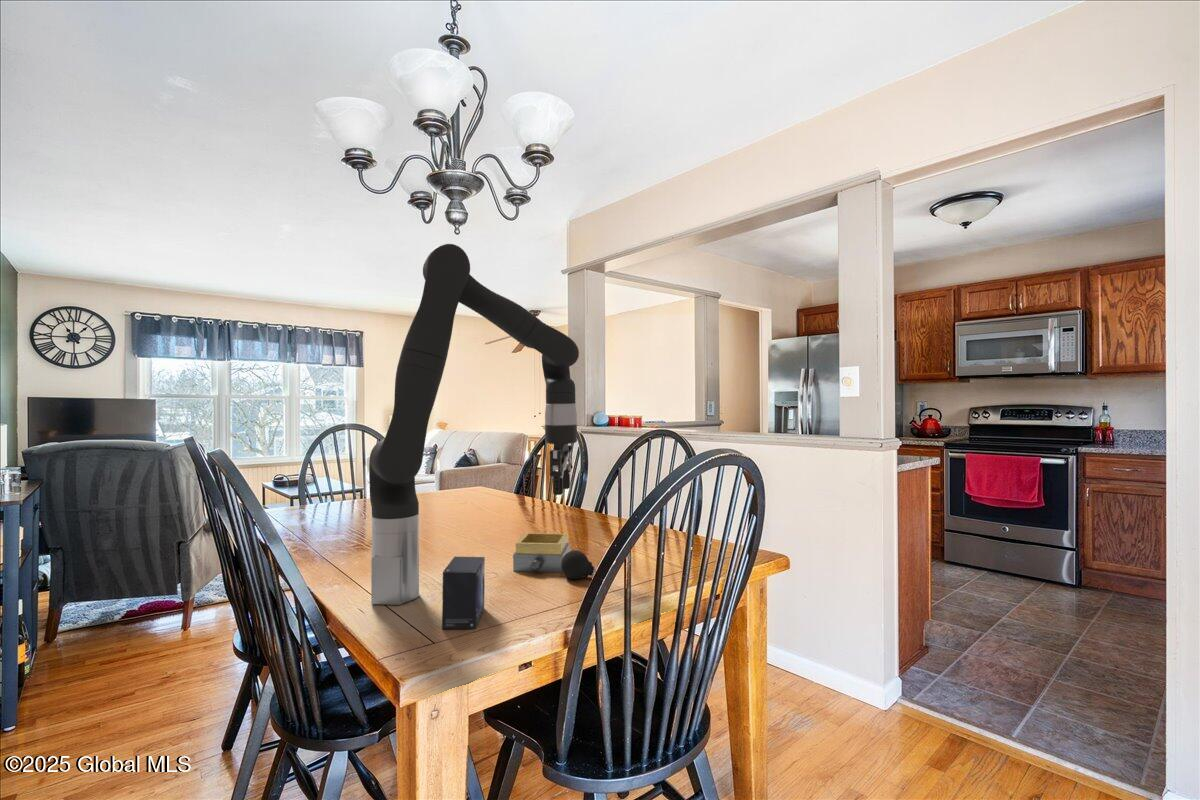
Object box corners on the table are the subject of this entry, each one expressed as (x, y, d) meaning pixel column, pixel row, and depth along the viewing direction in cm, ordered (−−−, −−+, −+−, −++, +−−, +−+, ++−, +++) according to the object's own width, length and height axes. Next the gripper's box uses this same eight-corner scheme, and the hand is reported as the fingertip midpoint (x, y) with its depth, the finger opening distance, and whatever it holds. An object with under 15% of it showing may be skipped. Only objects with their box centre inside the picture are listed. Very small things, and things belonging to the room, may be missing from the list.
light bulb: (609, 562, 130) (567, 546, 130) (599, 590, 128) (557, 574, 128) (605, 560, 136) (566, 545, 136) (596, 587, 135) (556, 572, 134)
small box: (477, 629, 103) (477, 571, 103) (440, 630, 102) (440, 572, 102) (486, 608, 113) (486, 555, 113) (452, 609, 113) (452, 555, 113)
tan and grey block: (560, 576, 134) (560, 548, 134) (510, 574, 135) (510, 547, 135) (569, 558, 148) (569, 533, 148) (524, 557, 150) (524, 532, 150)
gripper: (570, 424, 128) (571, 497, 128) (581, 421, 142) (582, 486, 142) (538, 424, 129) (539, 496, 129) (552, 421, 143) (552, 486, 143)
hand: (561, 491), depth 136 cm, fingers open, 8 cm apart
